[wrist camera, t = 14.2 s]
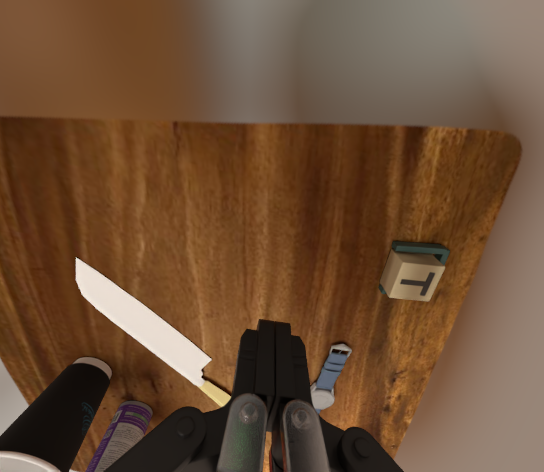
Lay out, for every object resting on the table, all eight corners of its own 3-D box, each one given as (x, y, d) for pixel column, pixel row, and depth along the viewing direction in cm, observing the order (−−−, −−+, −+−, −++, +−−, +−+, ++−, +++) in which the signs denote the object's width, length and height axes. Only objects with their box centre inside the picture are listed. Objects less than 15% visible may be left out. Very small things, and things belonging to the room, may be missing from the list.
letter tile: (379, 281, 27) (389, 298, 25) (391, 248, 26) (403, 262, 23) (416, 285, 28) (429, 302, 25) (430, 252, 26) (446, 267, 24)
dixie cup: (46, 362, 33) (-52, 470, 23) (91, 339, 31) (6, 446, 21) (94, 397, 36) (25, 506, 26) (137, 377, 34) (82, 487, 24)
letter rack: (378, 287, 28) (381, 293, 27) (392, 240, 25) (397, 245, 24) (425, 291, 28) (431, 297, 27) (445, 244, 26) (451, 249, 25)
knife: (85, 249, 25) (50, 276, 26) (278, 424, 37) (250, 439, 38) (92, 244, 27) (58, 270, 27) (277, 415, 38) (250, 430, 39)
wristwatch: (358, 344, 31) (361, 351, 30) (311, 437, 40) (312, 445, 39) (324, 338, 31) (326, 345, 30) (283, 433, 39) (284, 441, 38)
